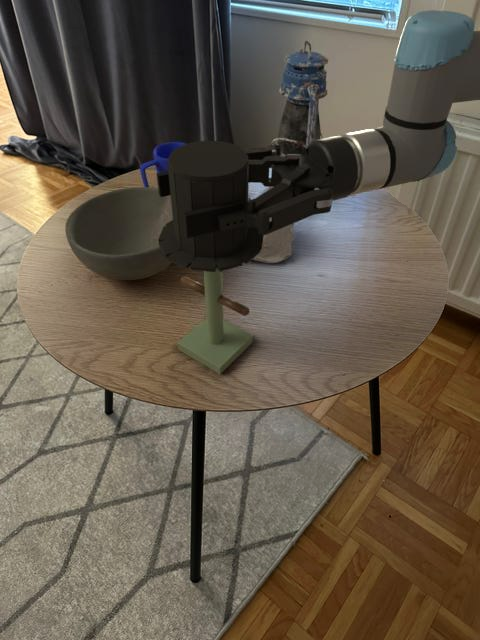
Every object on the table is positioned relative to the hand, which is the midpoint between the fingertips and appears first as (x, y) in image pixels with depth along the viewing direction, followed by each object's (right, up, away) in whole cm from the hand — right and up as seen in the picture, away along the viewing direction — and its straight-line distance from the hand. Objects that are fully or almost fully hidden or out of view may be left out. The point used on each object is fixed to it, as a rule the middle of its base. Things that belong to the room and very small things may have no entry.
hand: (171, 204), depth 54 cm
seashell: (+11, +1, +38) cm, 39 cm away
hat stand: (+4, -17, +19) cm, 25 cm away
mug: (-7, +13, +50) cm, 52 cm away
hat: (+4, -3, +6) cm, 8 cm away
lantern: (+19, +13, +50) cm, 56 cm away
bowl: (-11, -3, +33) cm, 35 cm away
